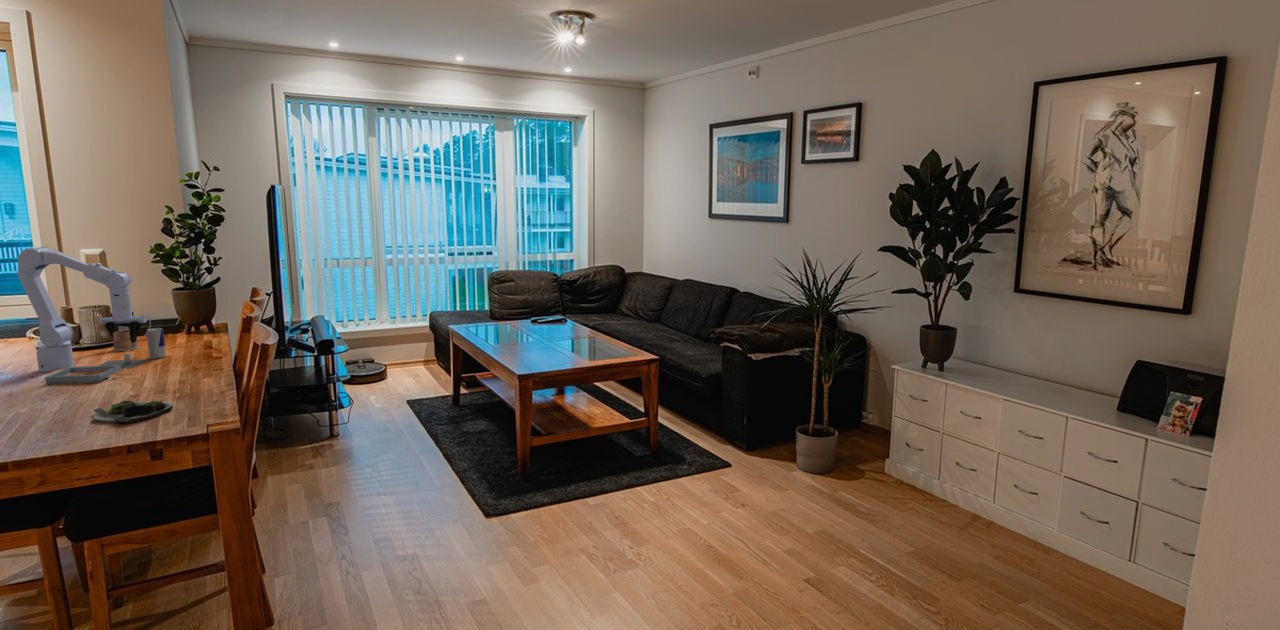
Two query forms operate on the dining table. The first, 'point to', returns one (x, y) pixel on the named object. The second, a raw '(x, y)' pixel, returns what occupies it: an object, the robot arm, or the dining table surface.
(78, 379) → the grey square frame
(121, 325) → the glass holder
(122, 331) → the tan block
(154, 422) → the dining table surface
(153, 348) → the energy drink
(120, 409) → the salad plate
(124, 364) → the stake board
